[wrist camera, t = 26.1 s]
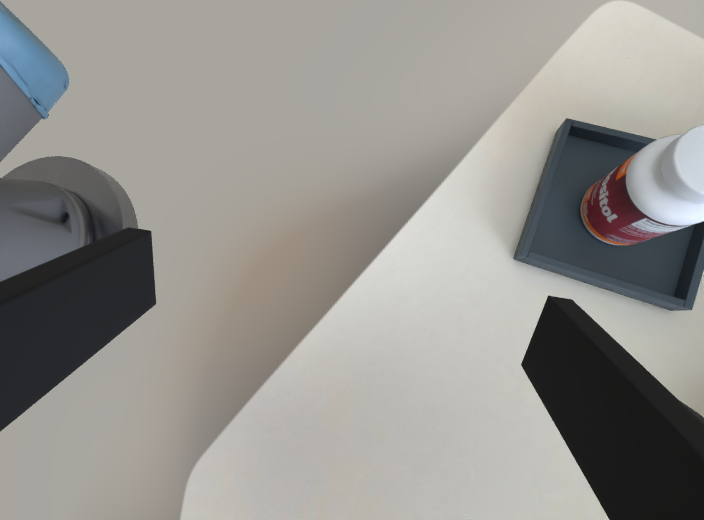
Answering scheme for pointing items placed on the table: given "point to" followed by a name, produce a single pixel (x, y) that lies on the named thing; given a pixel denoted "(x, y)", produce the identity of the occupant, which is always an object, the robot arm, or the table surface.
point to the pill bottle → (649, 192)
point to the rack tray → (586, 250)
